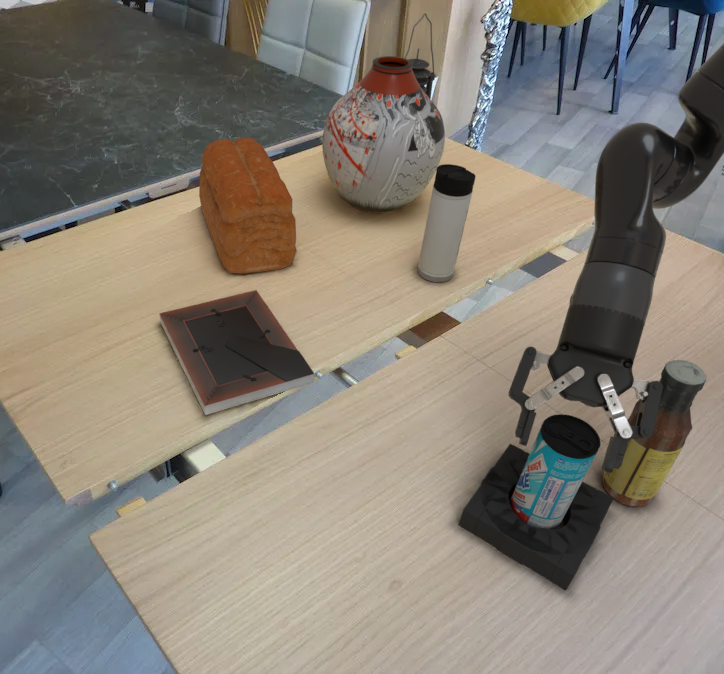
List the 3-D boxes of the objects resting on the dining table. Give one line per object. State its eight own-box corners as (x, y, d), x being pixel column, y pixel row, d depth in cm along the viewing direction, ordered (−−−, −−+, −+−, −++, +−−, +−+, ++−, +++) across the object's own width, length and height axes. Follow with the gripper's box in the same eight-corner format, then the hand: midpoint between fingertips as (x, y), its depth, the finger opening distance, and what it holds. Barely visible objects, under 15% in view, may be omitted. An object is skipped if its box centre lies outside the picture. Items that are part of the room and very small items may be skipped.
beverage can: (529, 489, 83) (565, 406, 73) (568, 524, 79) (612, 441, 69) (496, 511, 80) (529, 428, 70) (535, 548, 77) (575, 465, 67)
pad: (607, 512, 80) (615, 497, 78) (566, 592, 72) (575, 577, 71) (503, 457, 87) (509, 441, 85) (456, 524, 79) (461, 509, 77)
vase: (422, 176, 146) (446, 43, 128) (440, 232, 129) (471, 87, 110) (316, 173, 146) (325, 40, 128) (320, 229, 129) (330, 83, 111)
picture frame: (313, 385, 96) (256, 300, 111) (314, 372, 95) (256, 288, 109) (205, 417, 91) (160, 324, 106) (204, 404, 89) (159, 312, 104)
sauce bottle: (659, 487, 83) (733, 372, 70) (642, 518, 80) (716, 403, 67) (607, 459, 87) (669, 344, 74) (588, 488, 83) (649, 373, 70)
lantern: (407, 136, 162) (427, 2, 143) (438, 152, 156) (464, 14, 136) (368, 148, 157) (384, 11, 137) (399, 165, 150) (420, 23, 131)
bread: (263, 196, 138) (264, 126, 128) (300, 268, 119) (304, 191, 109) (197, 203, 135) (192, 132, 126) (223, 278, 116) (220, 201, 106)
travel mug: (408, 268, 119) (427, 164, 106) (438, 259, 122) (459, 156, 109) (430, 287, 115) (452, 181, 102) (460, 277, 117) (485, 172, 104)
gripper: (541, 288, 70) (497, 437, 69) (691, 325, 65) (645, 484, 65) (534, 301, 77) (494, 436, 76) (669, 335, 72) (627, 478, 72)
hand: (563, 458), depth 71 cm, fingers open, 8 cm apart
